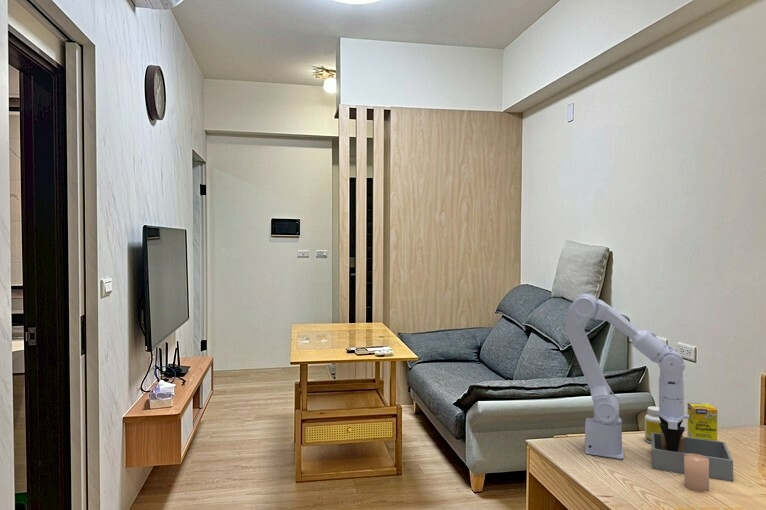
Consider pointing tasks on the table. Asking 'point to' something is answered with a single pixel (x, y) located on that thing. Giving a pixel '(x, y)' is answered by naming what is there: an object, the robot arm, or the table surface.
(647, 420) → the supplement bottle
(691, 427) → the supplement box
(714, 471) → the tote
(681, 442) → the walnut cube
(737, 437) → the table surface
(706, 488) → the terracotta cylinder
